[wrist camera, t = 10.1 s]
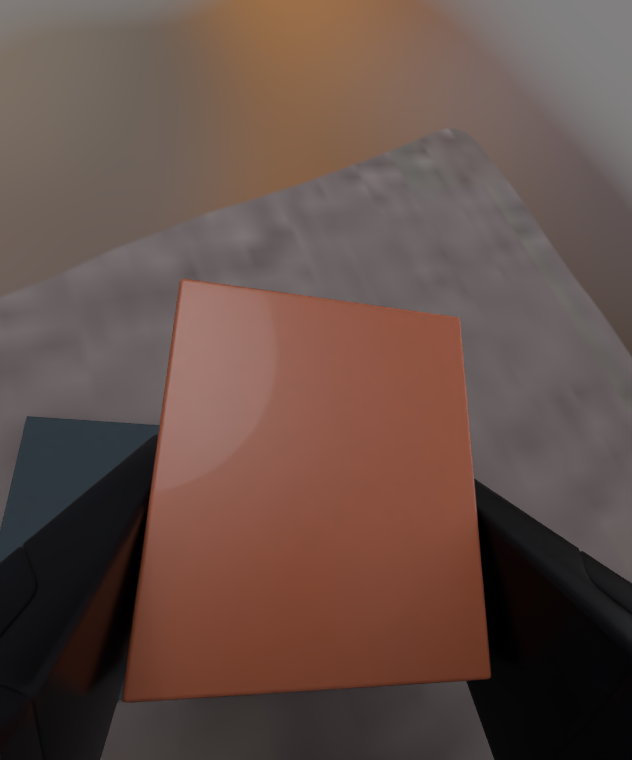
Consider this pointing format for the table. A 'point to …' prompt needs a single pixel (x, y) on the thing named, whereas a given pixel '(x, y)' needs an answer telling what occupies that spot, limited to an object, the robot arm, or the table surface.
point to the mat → (61, 470)
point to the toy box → (308, 503)
